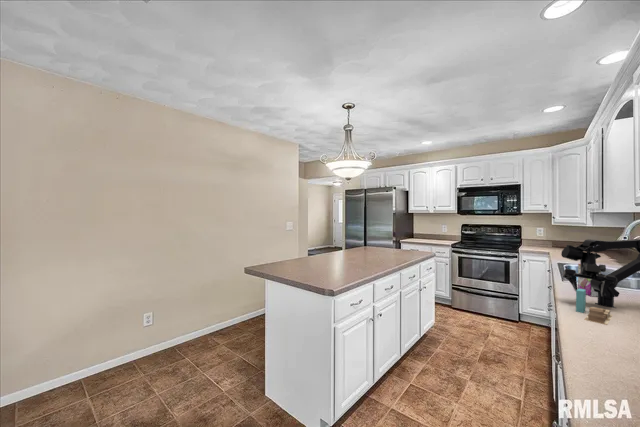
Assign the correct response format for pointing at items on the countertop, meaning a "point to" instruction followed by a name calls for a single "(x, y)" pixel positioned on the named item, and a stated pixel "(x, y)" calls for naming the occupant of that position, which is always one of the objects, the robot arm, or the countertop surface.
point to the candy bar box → (586, 285)
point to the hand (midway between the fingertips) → (589, 293)
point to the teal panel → (580, 300)
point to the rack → (606, 312)
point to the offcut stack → (596, 315)
